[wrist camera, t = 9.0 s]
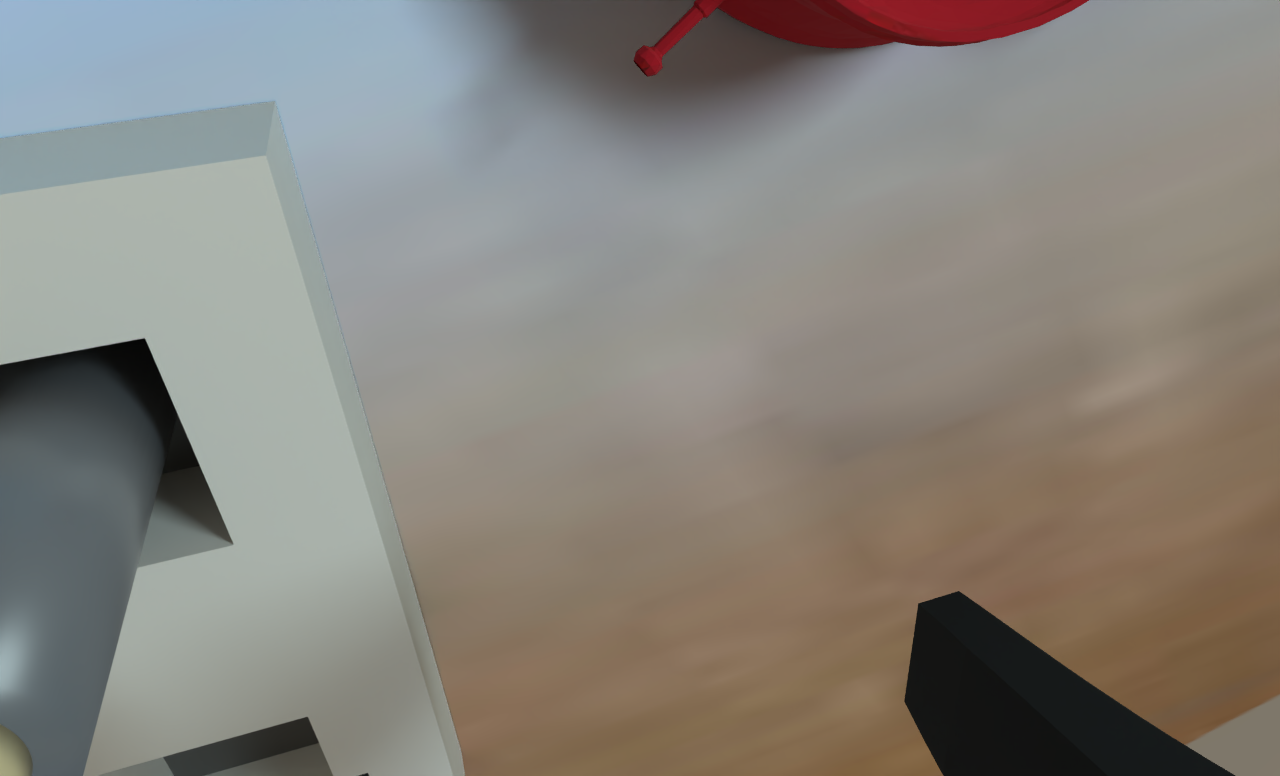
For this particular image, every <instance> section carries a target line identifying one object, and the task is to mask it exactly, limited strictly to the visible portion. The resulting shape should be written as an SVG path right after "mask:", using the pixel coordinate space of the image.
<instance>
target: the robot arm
mask: <svg viewBox="0 0 1280 776" xmlns="http://www.w3.org/2000/svg"><path fill="white" fill-rule="evenodd" d="M905 703H906V705H907V707H908V709H909V711H910V713H911V715H912V717H913V719H914V721H915V723H916V725H917V727H918V729H919V731H920V733H921V735H922V737H923V739H924V741H925V743H926V744H927V746H928V748H929V750H930V752H931V754H932V755H933V757H934V759H935V761H936V763H937V765H938V767H939V768H940V770H941V772H942V774H943V775H944V776H1235V775H1233V774H1232V773H1230V772H1228V771H1227V770H1225V769H1223V768H1222V767H1220V766H1218V765H1217V764H1215V763H1213V762H1211V761H1210V760H1208V759H1207V758H1205V757H1203V756H1202V755H1200V754H1198V753H1197V752H1195V751H1194V750H1192V749H1190V748H1189V747H1187V746H1185V745H1184V744H1182V743H1181V742H1179V741H1177V740H1176V739H1174V738H1172V737H1171V736H1169V735H1168V734H1166V733H1165V732H1163V731H1161V730H1160V729H1158V728H1157V727H1155V726H1154V725H1152V724H1150V723H1149V722H1147V721H1146V720H1144V719H1143V718H1141V717H1140V716H1138V715H1137V714H1135V713H1134V712H1132V711H1131V710H1129V709H1128V708H1126V707H1125V706H1123V705H1122V704H1120V703H1119V702H1117V701H1116V700H1114V699H1113V698H1111V697H1110V696H1108V695H1107V694H1105V693H1104V692H1102V691H1101V690H1099V689H1098V688H1096V687H1095V686H1093V685H1092V684H1090V683H1089V682H1087V681H1086V680H1084V679H1083V678H1081V677H1080V676H1078V675H1077V674H1076V673H1074V672H1073V671H1071V670H1070V669H1068V668H1067V667H1065V666H1064V665H1063V664H1061V663H1060V662H1058V661H1057V660H1055V659H1054V658H1053V657H1051V656H1050V655H1048V654H1047V653H1046V652H1044V651H1043V650H1041V649H1040V648H1038V647H1037V646H1036V645H1034V644H1033V643H1031V642H1030V641H1029V640H1027V639H1026V638H1024V637H1023V636H1022V635H1020V634H1019V633H1017V632H1016V631H1015V630H1013V629H1012V628H1010V627H1009V626H1008V625H1006V624H1005V623H1003V622H1002V621H1001V620H999V619H998V618H996V617H995V616H994V615H992V614H991V613H989V612H988V611H986V610H985V609H984V608H982V607H981V606H979V605H978V604H977V603H975V602H974V601H972V600H971V599H969V598H968V597H967V596H965V595H964V594H962V593H961V592H959V591H958V592H955V593H951V594H948V595H945V596H942V597H938V598H935V599H932V600H929V601H925V602H922V603H919V604H918V610H917V617H916V624H915V631H914V638H913V645H912V652H911V659H910V666H909V673H908V680H907V687H906V694H905ZM359 776H369V774H368V773H365V774H362V775H359Z"/></svg>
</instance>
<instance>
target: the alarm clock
mask: <svg viewBox="0 0 1280 776" xmlns="http://www.w3.org/2000/svg"><path fill="white" fill-rule="evenodd" d="M1087 1H1089V0H696V1H695V2H694V6H693V7H692V8H691V9H690V10H689V11H688V12H687V13H686V14H685V15H684V16H683V17H682V18H681V19H680V20H679V21H678V22H677V23H676V24H675V25H674V26H673V27H672V28H671V29H670V30H669V31H668V32H667V33H666V34H665V35H664V36H663V37H662V38H661V39H660V40H659V41H658V42H657V43H656V44H655V45H654V46H653V47H648V46H645V45H643V46H642V47H641V48H640V49H639V50H638V51H636V53H635V57H634V62H635V64H636V65H637V66H638V67H639V68H640V70H641V71H642V72H643V73H644V74H645V75H646V76H647V77H648V76H653V75H656V74H657V73H658V72H659V71H660V70H661V69H662V68H663V67H662V57H663V56H664V55H665V54H666V53H667V52H668V51H669V50H670V49H671V48H672V47H673V46H674V45H675V44H676V43H677V42H678V41H679V40H680V39H681V38H683V37H684V36H685V35H686V34H687V33H688V32H689V31H690V30H691V29H692V28H693V27H694V26H695V25H696V24H697V23H698V22H699V21H700V20H701V19H703V18H707V17H708V16H709V15H710V14H711V13H712V12H713V11H714V10H715V9H716V8H719V9H720V10H722V11H723V12H725V13H727V14H728V15H730V16H731V17H733V18H735V19H737V20H739V21H741V22H743V23H745V24H747V25H749V26H751V27H753V28H756V29H758V30H761V31H763V32H765V33H768V34H770V35H773V36H775V37H778V38H781V39H785V40H788V41H792V42H795V43H799V44H804V45H810V46H817V47H825V48H861V47H868V46H876V45H883V44H887V43H891V42H899V43H905V44H911V45H916V46H938V47H941V46H957V45H964V44H971V43H978V42H982V41H986V40H990V39H995V38H1002V37H1006V36H1009V35H1012V34H1015V33H1019V32H1022V31H1025V30H1028V29H1032V28H1035V27H1038V26H1041V25H1043V24H1045V23H1047V22H1049V21H1051V20H1053V19H1055V18H1058V17H1060V16H1062V15H1064V14H1066V13H1068V12H1070V11H1072V10H1074V9H1075V8H1077V7H1079V6H1080V5H1082V4H1084V3H1085V2H1087Z"/></svg>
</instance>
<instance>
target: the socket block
mask: <svg viewBox="0 0 1280 776" xmlns="http://www.w3.org/2000/svg"><path fill="white" fill-rule="evenodd" d="M142 338H145V339H146V341H147V344H148V346H149V348H150V351H151V353H152V355H153V358H154V360H155V362H156V365H157V367H158V369H159V372H160V374H161V376H162V379H163V381H164V383H165V386H166V388H167V390H168V393H169V395H170V397H171V400H172V402H173V404H174V407H175V409H176V411H177V418H176V421H175V425H174V429H173V433H172V437H171V441H170V444H169V448H168V452H167V456H166V460H165V464H164V467H163V471H162V475H161V479H160V483H159V487H158V490H157V494H156V498H155V502H154V506H153V510H152V513H151V517H150V521H149V525H148V529H147V533H146V536H145V540H144V544H143V548H142V552H141V556H140V559H139V563H138V567H137V571H136V575H135V579H134V582H133V586H132V590H131V594H130V598H129V602H128V605H127V609H126V613H125V617H124V621H123V625H122V628H121V632H120V636H119V640H118V644H117V648H116V651H115V655H114V659H113V663H112V667H111V671H110V674H109V678H108V682H107V686H106V690H105V693H104V697H103V701H102V705H101V709H100V713H99V716H98V720H97V724H96V728H95V732H94V736H93V739H92V743H91V747H90V751H89V755H88V759H87V762H86V766H85V770H84V774H83V776H359V775H362V774H365V773H368V774H369V776H465V773H464V766H463V760H462V753H461V749H460V746H459V742H458V739H457V735H456V732H455V728H454V725H453V721H452V718H451V714H450V711H449V707H448V704H447V700H446V697H445V693H444V690H443V686H442V683H441V679H440V676H439V672H438V669H437V665H436V662H435V658H434V655H433V651H432V648H431V644H430V641H429V637H428V634H427V630H426V627H425V623H424V620H423V616H422V613H421V609H420V606H419V602H418V599H417V595H416V592H415V588H414V585H413V581H412V578H411V574H410V571H409V567H408V564H407V560H406V557H405V553H404V550H403V546H402V543H401V540H400V536H399V533H398V529H397V526H396V522H395V519H394V515H393V512H392V508H391V505H390V501H389V498H388V494H387V491H386V487H385V484H384V480H383V477H382V473H381V470H380V466H379V463H378V459H377V456H376V452H375V449H374V445H373V442H372V438H371V435H370V431H369V428H368V424H367V421H366V417H365V414H364V410H363V407H362V403H361V400H360V396H359V393H358V389H357V386H356V382H355V379H354V375H353V372H352V368H351V365H350V361H349V358H348V354H347V351H346V347H345V344H344V340H343V337H342V333H341V330H340V326H339V323H338V319H337V316H336V312H335V309H334V305H333V302H332V299H331V295H330V292H329V288H328V285H327V281H326V278H325V274H324V271H323V267H322V264H321V260H320V257H319V253H318V250H317V246H316V243H315V239H314V236H313V232H312V229H311V225H310V222H309V218H308V215H307V211H306V208H305V204H304V201H303V197H302V194H301V190H300V187H299V183H298V180H297V176H296V173H295V169H294V166H293V162H292V159H291V155H290V152H289V148H288V145H287V141H286V138H285V134H284V131H283V127H282V124H281V120H280V117H279V113H278V110H277V106H276V103H275V101H272V102H265V103H257V104H250V105H242V106H235V107H228V108H220V109H213V110H206V111H198V112H191V113H183V114H176V115H169V116H161V117H154V118H147V119H139V120H132V121H124V122H117V123H110V124H102V125H95V126H88V127H80V128H73V129H66V130H58V131H51V132H43V133H36V134H29V135H21V136H14V137H7V138H0V365H2V364H7V363H12V362H18V361H23V360H29V359H34V358H39V357H45V356H50V355H56V354H61V353H67V352H72V351H77V350H83V349H88V348H94V347H99V346H104V345H110V344H115V343H121V342H126V341H132V340H137V339H142Z"/></svg>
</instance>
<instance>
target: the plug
mask: <svg viewBox="0 0 1280 776" xmlns="http://www.w3.org/2000/svg"><path fill="white" fill-rule="evenodd" d="M176 418H177V411H176V409H175V407H174V404H173V402H172V400H171V397H170V395H169V393H168V390H167V388H166V386H165V383H164V381H163V379H162V376H161V374H160V372H159V369H158V367H157V365H156V362H155V360H154V358H153V355H152V353H151V351H150V348H149V346H148V344H147V341H146V339H145V338H142V339H137V340H132V341H126V342H121V343H115V344H110V345H104V346H99V347H94V348H88V349H83V350H77V351H72V352H67V353H61V354H56V355H50V356H45V357H39V358H34V359H29V360H23V361H18V362H12V363H7V364H2V365H0V776H83V774H84V770H85V766H86V762H87V759H88V755H89V751H90V747H91V743H92V739H93V736H94V732H95V728H96V724H97V720H98V716H99V713H100V709H101V705H102V701H103V697H104V693H105V690H106V686H107V682H108V678H109V674H110V671H111V667H112V663H113V659H114V655H115V651H116V648H117V644H118V640H119V636H120V632H121V628H122V625H123V621H124V617H125V613H126V609H127V605H128V602H129V598H130V594H131V590H132V586H133V582H134V579H135V575H136V571H137V567H138V563H139V559H140V556H141V552H142V548H143V544H144V540H145V536H146V533H147V529H148V525H149V521H150V517H151V513H152V510H153V506H154V502H155V498H156V494H157V490H158V487H159V483H160V479H161V475H162V471H163V467H164V464H165V460H166V456H167V452H168V448H169V444H170V441H171V437H172V433H173V429H174V425H175V421H176Z"/></svg>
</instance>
